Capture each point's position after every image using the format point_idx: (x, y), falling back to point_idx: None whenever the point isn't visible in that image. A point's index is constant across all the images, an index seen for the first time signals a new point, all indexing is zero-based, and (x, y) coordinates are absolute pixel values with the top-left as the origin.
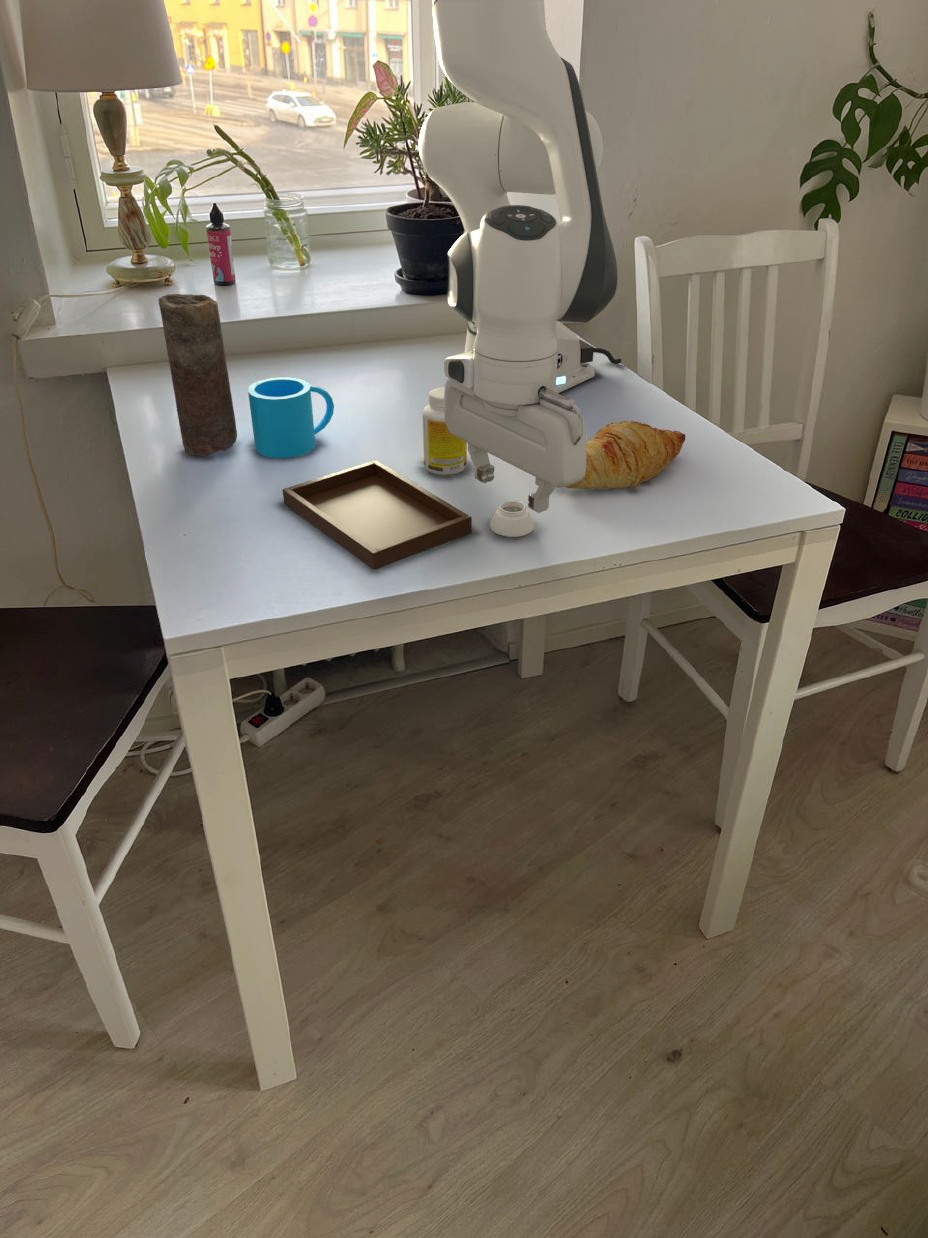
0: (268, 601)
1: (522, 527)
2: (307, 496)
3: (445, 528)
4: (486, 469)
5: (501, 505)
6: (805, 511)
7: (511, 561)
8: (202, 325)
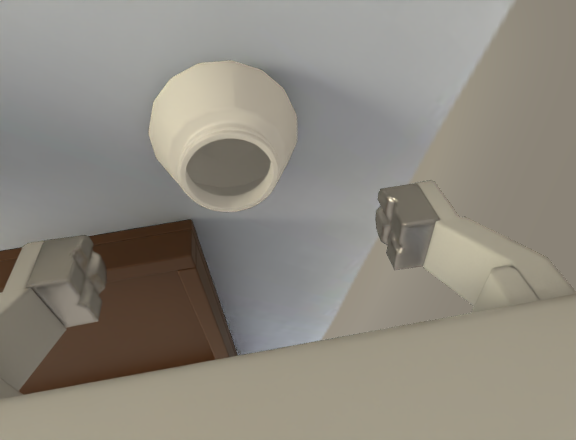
0: None
1: (292, 145)
2: None
3: (211, 304)
4: (88, 305)
5: (199, 198)
6: None
7: (362, 198)
8: None
